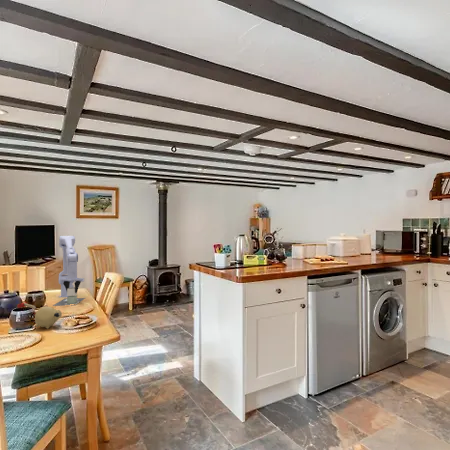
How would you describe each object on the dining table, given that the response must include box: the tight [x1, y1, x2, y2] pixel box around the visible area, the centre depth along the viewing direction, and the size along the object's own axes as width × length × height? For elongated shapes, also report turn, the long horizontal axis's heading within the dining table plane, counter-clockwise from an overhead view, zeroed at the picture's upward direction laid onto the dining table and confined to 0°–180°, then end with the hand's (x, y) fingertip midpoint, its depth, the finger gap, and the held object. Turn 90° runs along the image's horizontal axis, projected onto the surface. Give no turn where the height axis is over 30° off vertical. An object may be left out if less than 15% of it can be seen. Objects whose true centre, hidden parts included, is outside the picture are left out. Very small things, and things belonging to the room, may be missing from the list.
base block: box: [66, 294, 78, 304], centre depth 206 cm, size 4×4×4 cm
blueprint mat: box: [52, 297, 86, 307], centre depth 210 cm, size 20×14×1 cm
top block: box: [67, 286, 78, 296], centre depth 206 cm, size 4×4×4 cm
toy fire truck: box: [16, 301, 37, 311], centre depth 169 cm, size 3×14×10 cm, turn 84°
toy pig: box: [34, 306, 63, 330], centre depth 159 cm, size 10×12×11 cm
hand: (72, 292), depth 206 cm, fingers closed on top block, 4 cm apart
